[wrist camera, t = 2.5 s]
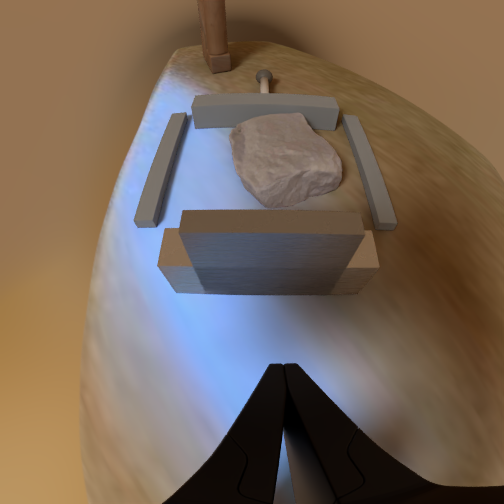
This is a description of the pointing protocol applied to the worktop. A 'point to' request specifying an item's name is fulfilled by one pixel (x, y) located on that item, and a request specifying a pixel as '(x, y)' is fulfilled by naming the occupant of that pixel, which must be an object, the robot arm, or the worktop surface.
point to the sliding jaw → (268, 253)
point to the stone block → (283, 159)
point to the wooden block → (214, 34)
